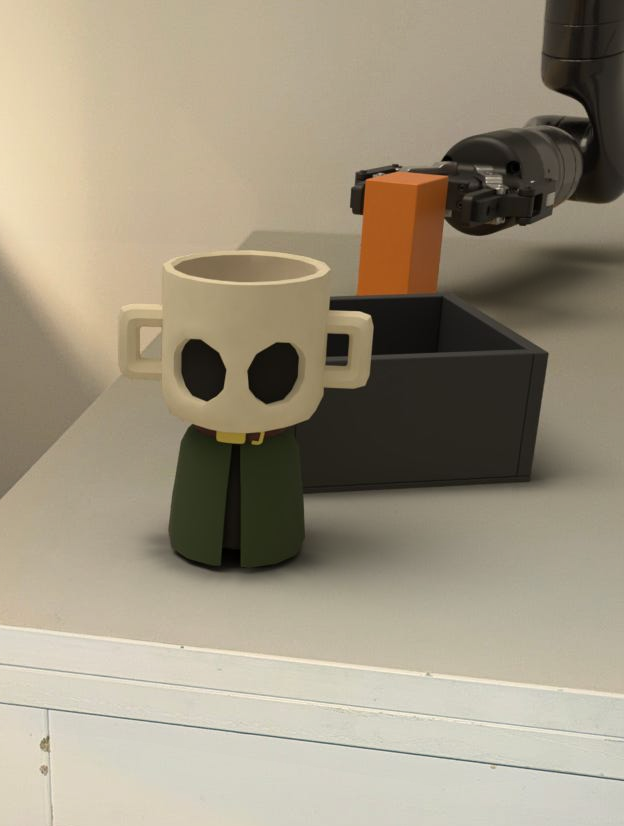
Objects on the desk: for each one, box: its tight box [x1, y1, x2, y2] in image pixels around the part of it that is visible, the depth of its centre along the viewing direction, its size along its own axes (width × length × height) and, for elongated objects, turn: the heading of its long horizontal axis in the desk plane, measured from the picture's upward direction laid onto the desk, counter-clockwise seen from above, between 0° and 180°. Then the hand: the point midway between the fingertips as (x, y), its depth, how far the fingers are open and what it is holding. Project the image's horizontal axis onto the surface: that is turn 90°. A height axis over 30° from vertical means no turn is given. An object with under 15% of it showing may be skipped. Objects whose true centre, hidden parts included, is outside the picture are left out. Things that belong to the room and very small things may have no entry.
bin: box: [289, 292, 550, 495], centre depth 72 cm, size 14×14×7 cm
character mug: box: [117, 249, 373, 569], centre depth 58 cm, size 11×7×13 cm, turn 82°
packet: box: [356, 171, 449, 296], centre depth 94 cm, size 5×4×11 cm
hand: (410, 205), depth 93 cm, fingers open, 8 cm apart
